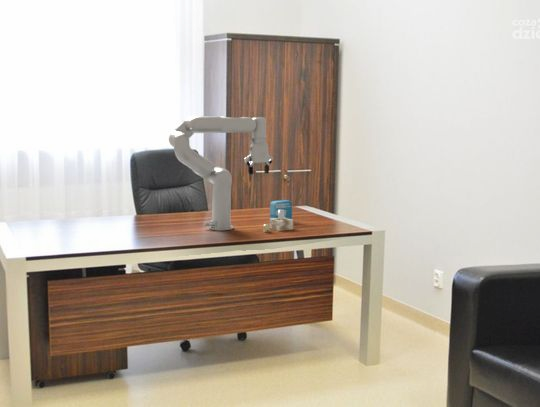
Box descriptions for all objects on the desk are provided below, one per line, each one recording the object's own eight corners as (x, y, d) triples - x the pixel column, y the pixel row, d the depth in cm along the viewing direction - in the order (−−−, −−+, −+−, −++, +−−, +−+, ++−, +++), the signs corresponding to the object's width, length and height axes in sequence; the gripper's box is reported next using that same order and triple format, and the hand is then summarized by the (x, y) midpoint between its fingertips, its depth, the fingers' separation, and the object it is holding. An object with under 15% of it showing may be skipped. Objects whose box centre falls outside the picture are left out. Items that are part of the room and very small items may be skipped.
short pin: (265, 232, 367) (265, 225, 366) (262, 231, 370) (262, 224, 369) (270, 232, 369) (270, 224, 368) (267, 231, 371) (267, 223, 371)
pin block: (278, 230, 372) (278, 221, 372) (269, 228, 380) (269, 218, 379) (293, 229, 377) (293, 219, 376) (283, 226, 385) (283, 217, 384)
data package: (274, 224, 391) (274, 202, 389) (269, 223, 394) (270, 201, 393) (292, 222, 398) (292, 200, 396) (287, 220, 401) (287, 199, 400)
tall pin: (280, 229, 376) (280, 210, 375) (276, 228, 379) (277, 209, 377) (285, 228, 378) (285, 210, 376) (281, 227, 381) (282, 209, 379)
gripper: (248, 142, 369) (248, 175, 372) (276, 141, 378) (276, 173, 381) (241, 141, 375) (240, 173, 378) (269, 140, 384) (268, 172, 387)
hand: (258, 173), depth 379 cm, fingers open, 9 cm apart
